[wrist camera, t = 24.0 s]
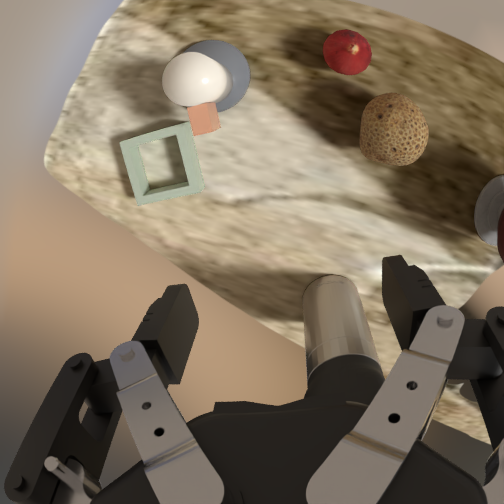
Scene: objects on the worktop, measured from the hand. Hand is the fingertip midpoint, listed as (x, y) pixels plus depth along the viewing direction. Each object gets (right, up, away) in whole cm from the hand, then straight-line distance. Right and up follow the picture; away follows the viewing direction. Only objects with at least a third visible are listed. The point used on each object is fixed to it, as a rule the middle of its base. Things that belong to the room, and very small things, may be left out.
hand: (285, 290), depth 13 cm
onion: (+10, +27, +22) cm, 36 cm away
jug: (-6, +21, +24) cm, 33 cm away
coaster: (-7, +24, +24) cm, 35 cm away
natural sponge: (+16, +18, +26) cm, 35 cm away
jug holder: (-13, +14, +30) cm, 36 cm away
